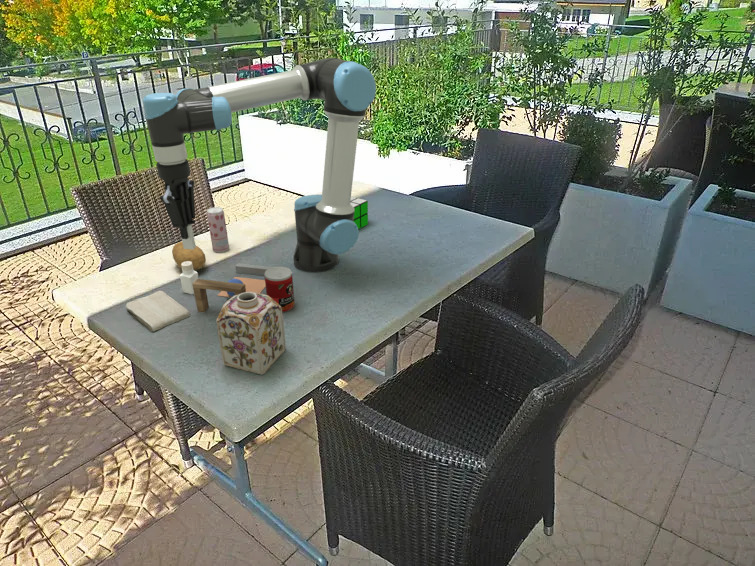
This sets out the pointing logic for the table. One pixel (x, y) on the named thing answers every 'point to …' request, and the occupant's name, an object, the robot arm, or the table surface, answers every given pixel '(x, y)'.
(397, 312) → the table surface
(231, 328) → the decorative jar
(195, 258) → the potato
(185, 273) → the salt shaker
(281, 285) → the canned food
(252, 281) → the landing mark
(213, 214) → the beverage can
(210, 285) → the bridge
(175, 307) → the washcloth
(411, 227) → the table surface
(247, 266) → the grey long bar
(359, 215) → the puzzle cube
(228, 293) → the ball
